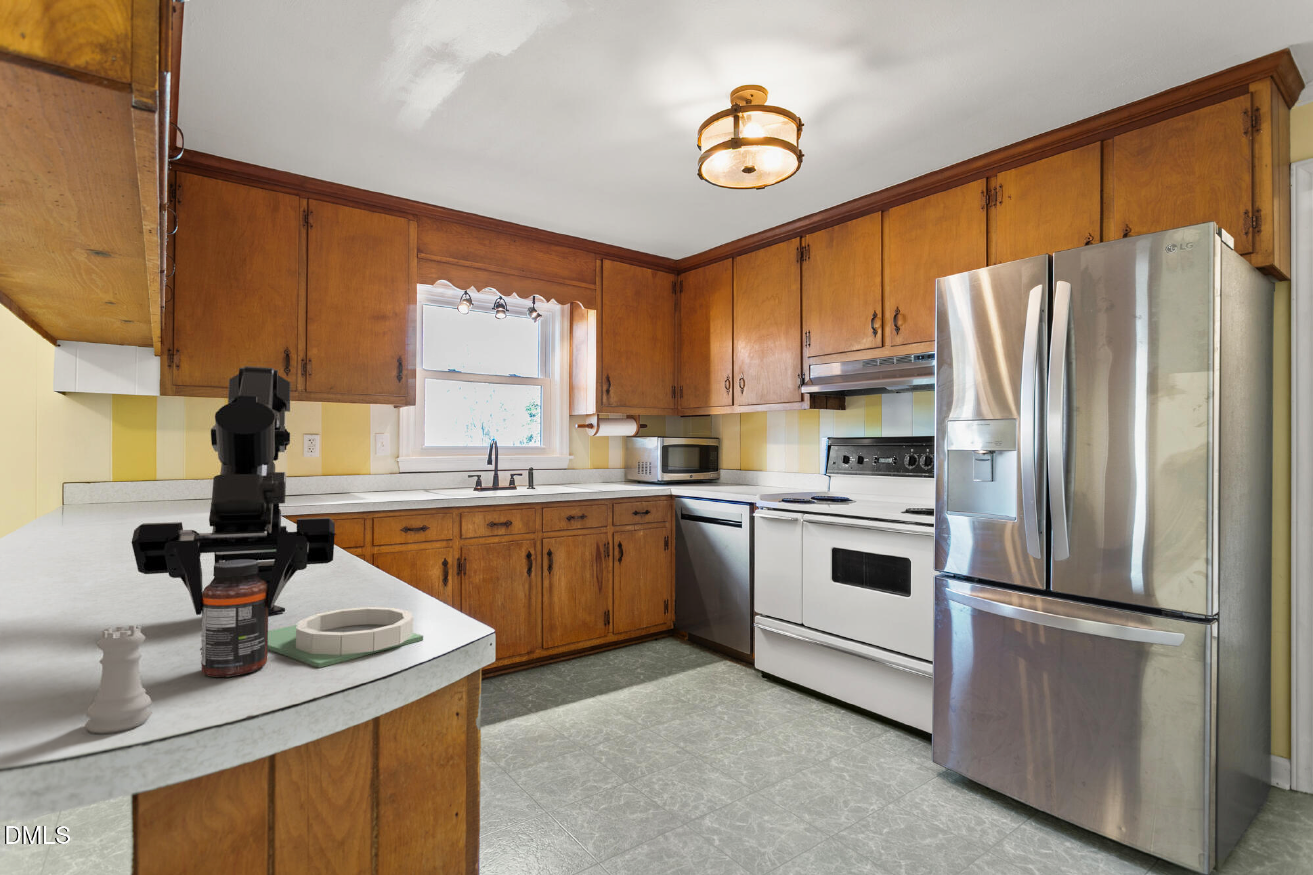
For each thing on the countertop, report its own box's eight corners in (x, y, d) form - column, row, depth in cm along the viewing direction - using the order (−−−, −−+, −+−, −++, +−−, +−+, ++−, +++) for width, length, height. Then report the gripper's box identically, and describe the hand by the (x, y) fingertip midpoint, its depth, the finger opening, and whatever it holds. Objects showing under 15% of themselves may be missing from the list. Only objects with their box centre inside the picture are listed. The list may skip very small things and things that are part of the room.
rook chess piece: (114, 738, 54) (117, 638, 54) (69, 732, 55) (72, 634, 55) (165, 716, 58) (168, 624, 58) (123, 711, 59) (126, 620, 59)
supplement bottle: (233, 658, 74) (236, 556, 74) (280, 662, 72) (282, 558, 73) (185, 676, 68) (188, 565, 68) (235, 681, 67) (238, 568, 67)
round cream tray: (275, 641, 79) (275, 622, 79) (372, 619, 89) (373, 602, 89) (334, 661, 72) (334, 641, 72) (432, 635, 82) (433, 617, 82)
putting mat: (243, 640, 81) (243, 635, 81) (345, 618, 91) (345, 614, 91) (319, 667, 71) (319, 663, 71) (423, 639, 82) (423, 635, 82)
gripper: (138, 446, 70) (107, 570, 60) (336, 448, 78) (337, 557, 68) (151, 514, 76) (125, 635, 66) (332, 510, 85) (333, 616, 75)
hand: (234, 609), depth 69 cm, fingers closed on supplement bottle, 6 cm apart
